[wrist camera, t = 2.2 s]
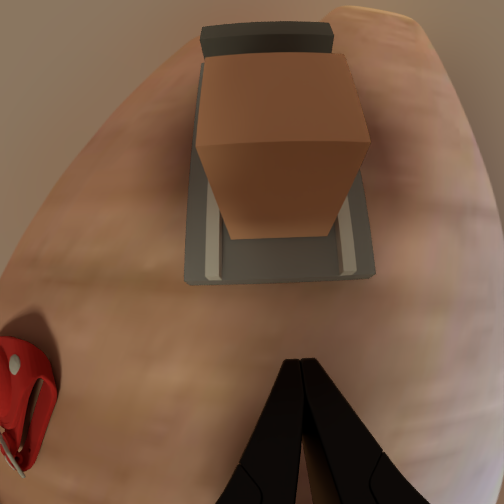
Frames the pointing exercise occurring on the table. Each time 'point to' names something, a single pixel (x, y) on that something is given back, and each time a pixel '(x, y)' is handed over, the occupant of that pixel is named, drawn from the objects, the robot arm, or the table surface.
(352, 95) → the brown block
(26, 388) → the red tape dispenser
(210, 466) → the table surface
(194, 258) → the guide track
